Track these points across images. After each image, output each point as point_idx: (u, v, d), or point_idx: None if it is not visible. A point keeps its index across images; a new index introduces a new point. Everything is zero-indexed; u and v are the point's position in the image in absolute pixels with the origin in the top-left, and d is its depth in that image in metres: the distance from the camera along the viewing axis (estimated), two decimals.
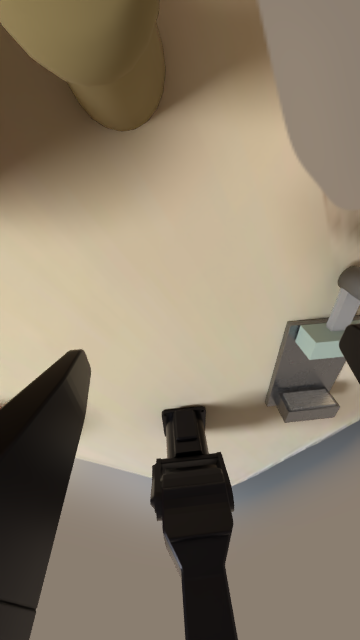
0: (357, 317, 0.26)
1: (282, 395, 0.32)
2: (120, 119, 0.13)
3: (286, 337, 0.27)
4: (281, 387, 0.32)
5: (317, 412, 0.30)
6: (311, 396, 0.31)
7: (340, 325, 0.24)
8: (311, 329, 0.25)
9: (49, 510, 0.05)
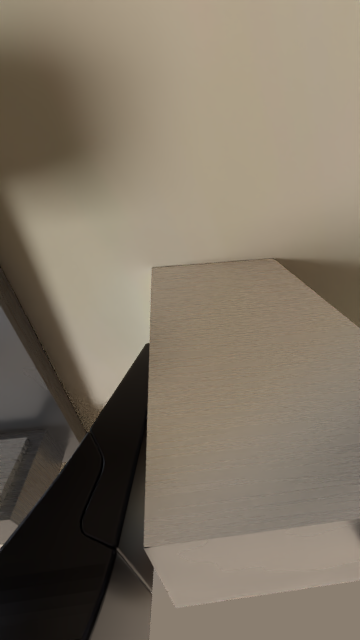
0: None
1: None
2: None
3: None
4: None
5: None
6: None
7: None
8: None
9: None
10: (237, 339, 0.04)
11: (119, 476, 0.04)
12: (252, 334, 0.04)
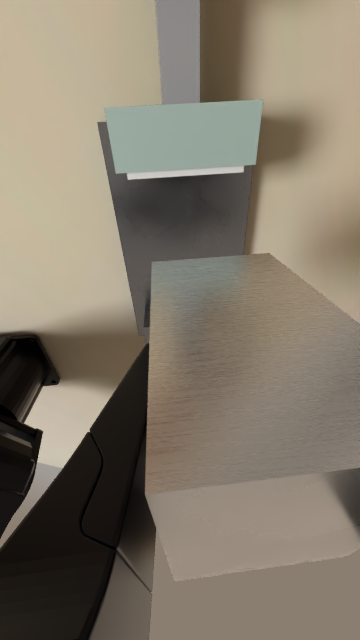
0: None
1: (149, 308, 0.19)
2: None
3: (105, 162, 0.14)
4: (147, 294, 0.19)
5: None
6: None
7: (177, 89, 0.11)
8: None
9: None
10: (232, 325, 0.04)
11: (119, 476, 0.04)
12: (246, 320, 0.05)
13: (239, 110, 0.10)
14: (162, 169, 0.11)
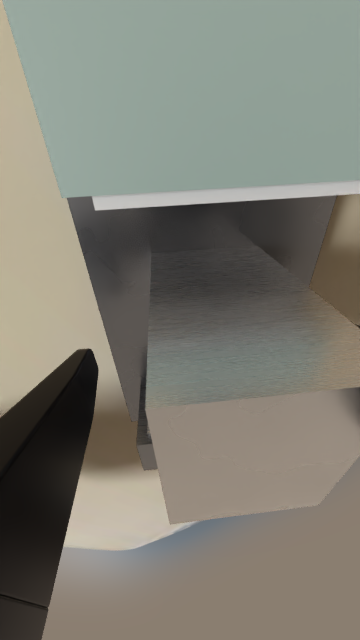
0: None
1: None
2: None
3: None
4: (143, 373, 0.12)
5: None
6: None
7: None
8: None
9: (60, 509, 0.05)
10: (219, 302, 0.05)
11: None
12: (231, 298, 0.05)
13: None
14: (179, 188, 0.05)
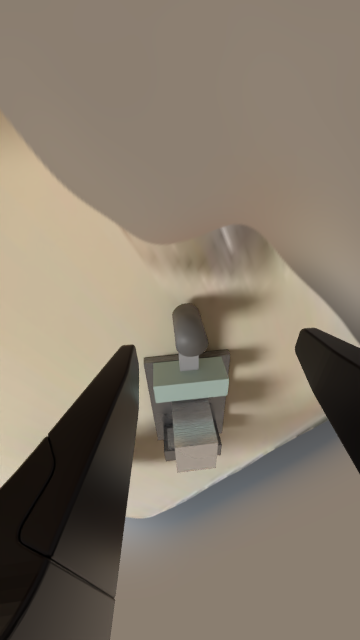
0: (221, 352, 0.24)
1: (166, 430, 0.30)
2: None
3: None
4: (165, 422, 0.30)
5: None
6: None
7: (187, 365, 0.22)
8: (160, 368, 0.23)
9: (121, 501, 0.05)
10: (188, 419, 0.23)
11: (67, 482, 0.03)
12: (191, 418, 0.23)
13: (217, 382, 0.21)
14: (179, 400, 0.22)
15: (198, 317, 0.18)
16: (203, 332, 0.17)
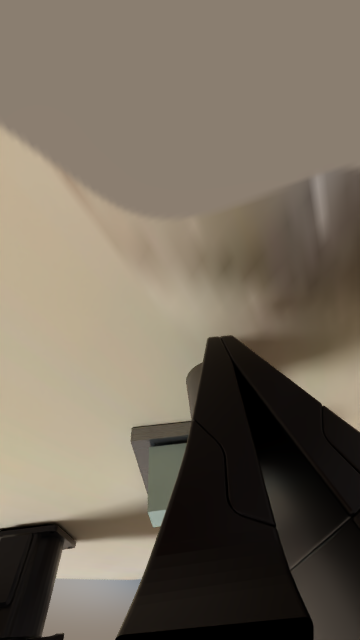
0: None
1: None
2: None
3: (135, 453, 0.14)
4: None
5: None
6: None
7: None
8: (162, 461, 0.13)
9: None
10: None
11: (247, 460, 0.04)
12: None
13: None
14: None
15: None
16: None
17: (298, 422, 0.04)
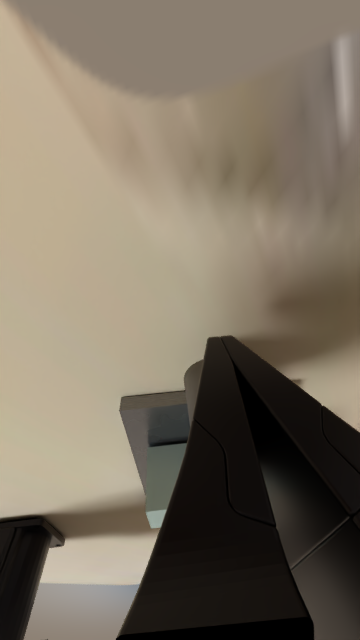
0: None
1: None
2: None
3: (125, 428, 0.13)
4: None
5: None
6: None
7: None
8: (160, 462, 0.13)
9: None
10: None
11: (247, 461, 0.04)
12: None
13: None
14: None
15: None
16: None
17: (298, 422, 0.04)
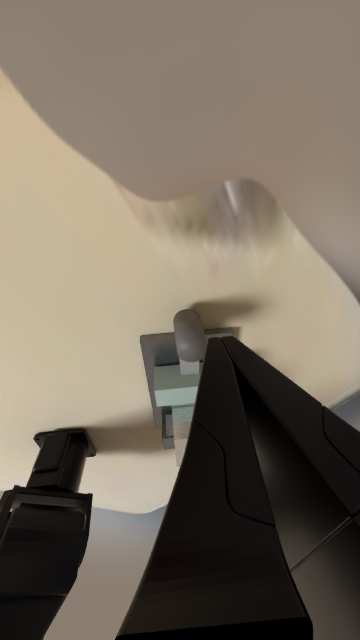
0: (223, 330, 0.22)
1: (164, 417, 0.28)
2: None
3: (142, 353, 0.23)
4: (163, 408, 0.28)
5: None
6: None
7: (188, 369, 0.22)
8: (161, 372, 0.23)
9: None
10: (188, 411, 0.22)
11: (247, 461, 0.04)
12: (192, 410, 0.22)
13: None
14: None
15: (199, 323, 0.19)
16: (204, 338, 0.17)
17: (298, 422, 0.04)
